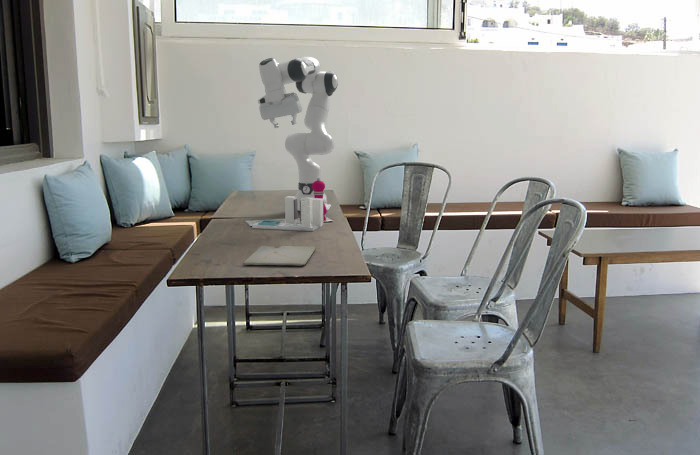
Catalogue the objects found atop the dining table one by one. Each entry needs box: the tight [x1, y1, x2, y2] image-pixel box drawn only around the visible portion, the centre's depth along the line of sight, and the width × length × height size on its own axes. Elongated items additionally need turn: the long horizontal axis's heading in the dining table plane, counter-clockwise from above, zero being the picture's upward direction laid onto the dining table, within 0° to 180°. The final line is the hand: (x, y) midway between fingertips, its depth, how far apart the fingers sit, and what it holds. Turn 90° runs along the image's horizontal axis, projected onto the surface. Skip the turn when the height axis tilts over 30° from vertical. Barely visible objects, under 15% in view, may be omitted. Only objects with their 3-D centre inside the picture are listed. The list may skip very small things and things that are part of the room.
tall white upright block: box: [284, 195, 299, 223], centre depth 282 cm, size 4×5×12 cm
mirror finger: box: [313, 198, 324, 228], centre depth 274 cm, size 4×5×12 cm
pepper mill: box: [312, 177, 328, 222], centre depth 288 cm, size 7×7×20 cm
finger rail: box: [251, 197, 320, 232], centre depth 270 cm, size 8×28×14 cm, turn 74°
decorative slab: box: [243, 245, 317, 267], centre depth 217 cm, size 27×21×2 cm
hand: (285, 126), depth 282 cm, fingers open, 8 cm apart
